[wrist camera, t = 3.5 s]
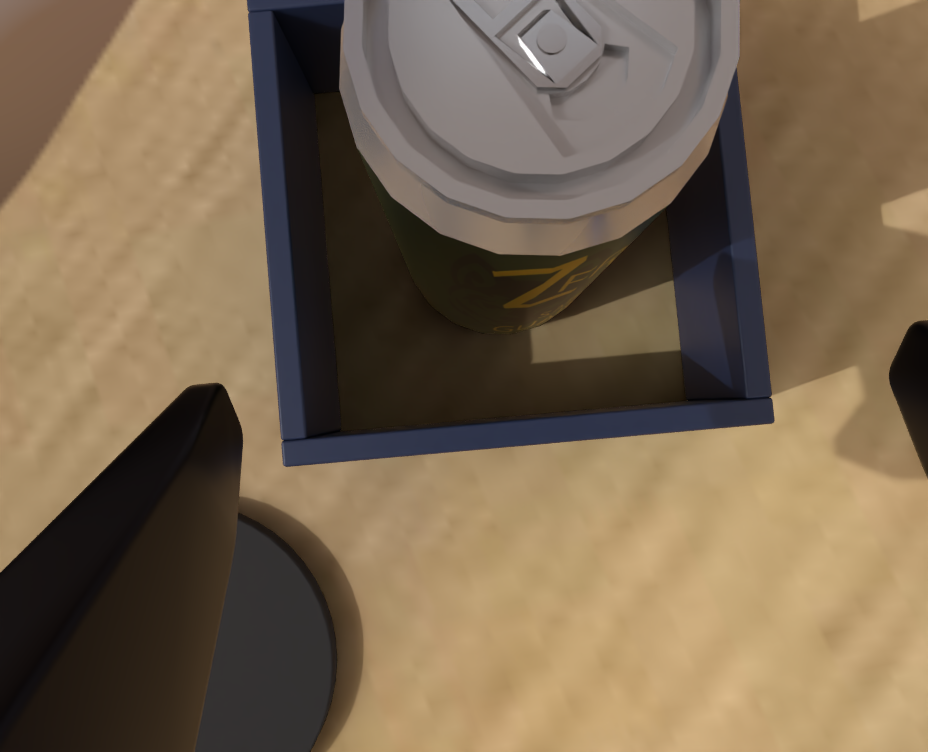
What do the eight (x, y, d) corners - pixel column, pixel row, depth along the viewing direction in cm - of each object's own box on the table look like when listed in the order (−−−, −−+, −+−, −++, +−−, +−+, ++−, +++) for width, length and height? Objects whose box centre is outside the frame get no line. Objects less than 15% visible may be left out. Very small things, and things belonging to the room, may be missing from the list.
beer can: (368, 243, 21) (232, 16, 9) (500, 118, 21) (547, -274, 9) (494, 375, 20) (536, 331, 8) (627, 248, 21) (852, 29, 9)
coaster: (385, 572, 20) (382, 576, 20) (264, 870, 20) (258, 884, 19) (98, 454, 20) (87, 456, 20) (-26, 748, 20) (-41, 759, 20)
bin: (707, 419, 20) (776, 423, 16) (322, 453, 20) (282, 467, 16) (669, 42, 21) (724, -57, 16) (292, 76, 21) (245, -14, 16)
